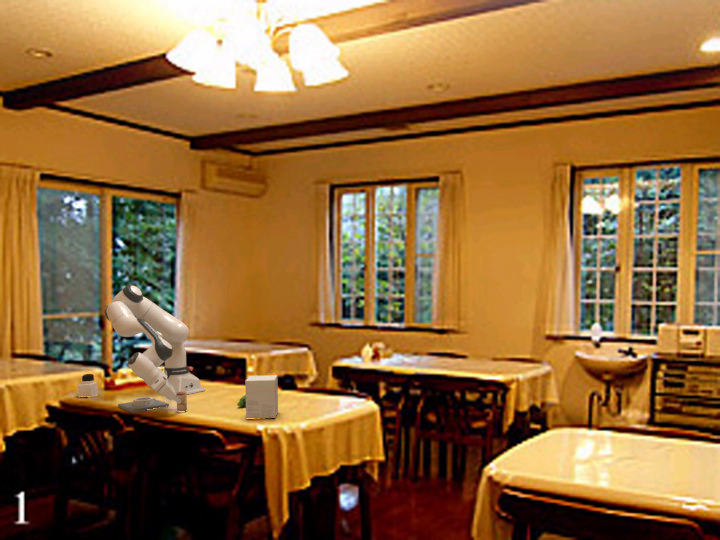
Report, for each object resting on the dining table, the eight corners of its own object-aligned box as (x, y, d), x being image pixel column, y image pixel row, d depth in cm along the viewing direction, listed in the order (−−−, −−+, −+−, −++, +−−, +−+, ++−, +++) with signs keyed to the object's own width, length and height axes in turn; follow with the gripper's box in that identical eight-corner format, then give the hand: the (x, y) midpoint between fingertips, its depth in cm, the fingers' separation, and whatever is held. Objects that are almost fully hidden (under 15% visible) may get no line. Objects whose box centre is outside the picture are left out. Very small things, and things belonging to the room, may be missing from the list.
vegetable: (266, 384, 320) (240, 391, 303) (272, 397, 319) (246, 406, 302) (256, 389, 324) (230, 397, 306) (261, 402, 322) (235, 411, 305)
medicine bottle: (97, 395, 341) (97, 373, 341) (90, 398, 334) (90, 375, 334) (85, 395, 342) (84, 373, 341) (77, 398, 334) (77, 375, 334)
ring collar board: (153, 401, 323) (153, 393, 323) (169, 406, 310) (168, 398, 310) (118, 407, 311) (117, 398, 311) (132, 413, 298) (132, 404, 298)
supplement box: (278, 412, 294) (278, 374, 294) (275, 419, 281) (274, 379, 281) (250, 413, 294) (249, 375, 294) (245, 420, 281) (244, 380, 281)
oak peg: (184, 410, 302) (183, 391, 302) (188, 411, 299) (188, 392, 299) (175, 411, 300) (175, 392, 299) (179, 413, 296) (179, 393, 296)
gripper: (151, 381, 305) (172, 399, 309) (153, 390, 286) (176, 410, 290) (161, 371, 306) (182, 390, 310) (164, 380, 287) (186, 400, 291)
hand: (179, 400), depth 300 cm, fingers open, 8 cm apart
